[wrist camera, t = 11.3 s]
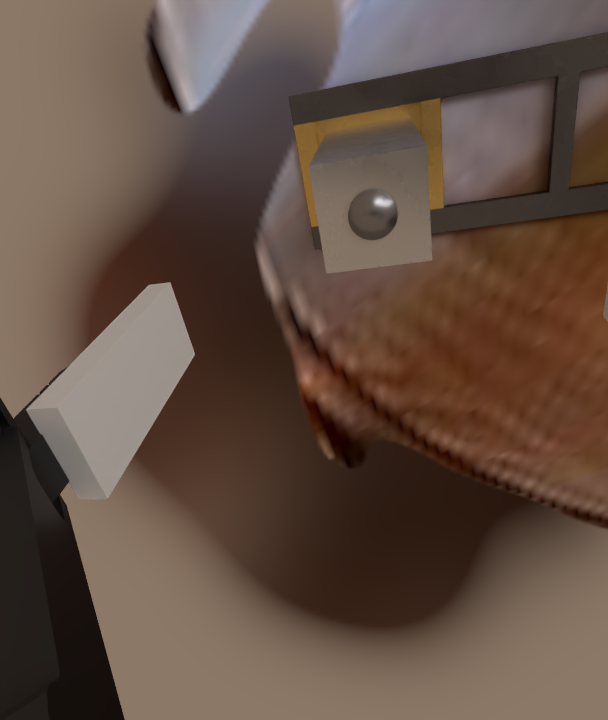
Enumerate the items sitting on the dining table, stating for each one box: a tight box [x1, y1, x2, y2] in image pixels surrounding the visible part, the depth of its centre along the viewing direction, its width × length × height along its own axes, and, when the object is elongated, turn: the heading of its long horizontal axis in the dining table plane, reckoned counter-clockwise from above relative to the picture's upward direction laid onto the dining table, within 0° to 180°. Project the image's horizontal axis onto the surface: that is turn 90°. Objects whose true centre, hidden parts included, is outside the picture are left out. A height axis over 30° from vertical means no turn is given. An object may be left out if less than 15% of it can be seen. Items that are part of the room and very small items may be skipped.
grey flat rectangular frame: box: [289, 32, 608, 249], centre depth 30 cm, size 10×24×1 cm, turn 100°
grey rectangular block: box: [309, 116, 432, 274], centre depth 26 cm, size 5×5×11 cm
